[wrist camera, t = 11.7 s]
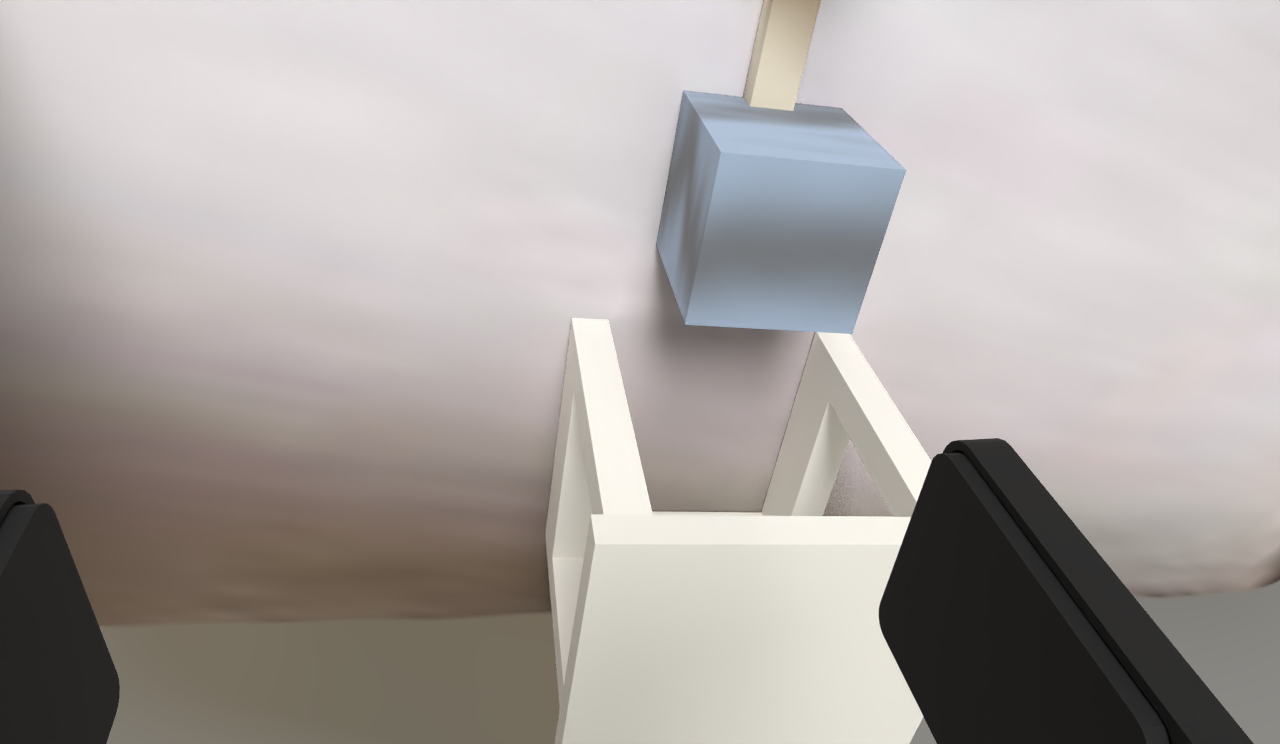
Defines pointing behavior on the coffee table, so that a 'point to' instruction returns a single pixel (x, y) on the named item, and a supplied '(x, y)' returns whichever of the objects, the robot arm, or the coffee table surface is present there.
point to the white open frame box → (728, 573)
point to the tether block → (774, 196)
